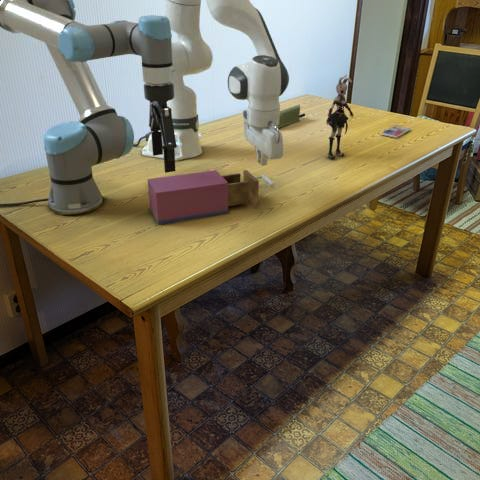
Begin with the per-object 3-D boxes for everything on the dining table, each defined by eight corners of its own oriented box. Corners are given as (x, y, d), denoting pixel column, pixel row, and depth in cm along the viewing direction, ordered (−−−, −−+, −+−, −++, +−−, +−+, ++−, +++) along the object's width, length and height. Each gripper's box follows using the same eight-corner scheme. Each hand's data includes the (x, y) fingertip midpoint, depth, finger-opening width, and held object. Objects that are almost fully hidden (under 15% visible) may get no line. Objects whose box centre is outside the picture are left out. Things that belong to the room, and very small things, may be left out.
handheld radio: (268, 129, 217) (300, 116, 234) (274, 130, 216) (306, 118, 233) (269, 113, 214) (302, 102, 231) (276, 115, 212) (308, 103, 229)
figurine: (327, 162, 183) (336, 77, 168) (315, 158, 187) (322, 74, 172) (352, 153, 191) (362, 71, 177) (339, 149, 195) (348, 69, 181)
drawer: (263, 189, 159) (264, 167, 155) (275, 201, 152) (276, 178, 148) (186, 201, 151) (185, 178, 147) (195, 214, 144) (195, 190, 140)
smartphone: (411, 128, 218) (397, 136, 208) (410, 130, 218) (396, 138, 208) (395, 124, 222) (380, 132, 211) (394, 126, 222) (380, 134, 212)
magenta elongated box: (216, 198, 155) (215, 169, 150) (228, 213, 147) (228, 182, 142) (149, 209, 148) (147, 178, 144) (158, 224, 140) (155, 193, 135)
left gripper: (186, 93, 118) (190, 177, 129) (161, 72, 139) (165, 146, 149) (155, 95, 116) (161, 181, 126) (133, 74, 136) (140, 149, 147)
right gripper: (290, 126, 135) (287, 175, 142) (259, 107, 152) (258, 151, 158) (268, 129, 133) (266, 178, 140) (240, 109, 150) (239, 154, 156)
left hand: (163, 162), depth 138 cm, fingers open, 13 cm apart
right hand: (262, 163), depth 149 cm, fingers closed
